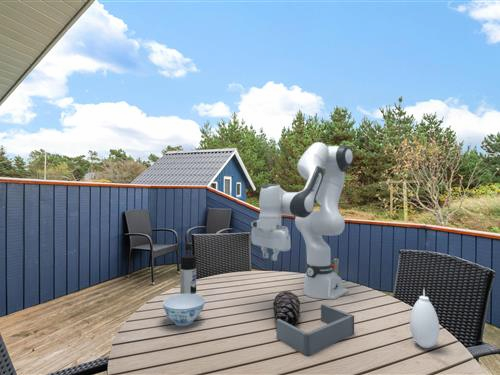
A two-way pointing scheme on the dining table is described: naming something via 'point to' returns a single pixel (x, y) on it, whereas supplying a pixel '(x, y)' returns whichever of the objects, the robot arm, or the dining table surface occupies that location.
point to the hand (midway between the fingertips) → (270, 259)
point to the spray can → (188, 274)
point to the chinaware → (183, 308)
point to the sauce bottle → (424, 322)
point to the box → (317, 331)
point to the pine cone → (287, 307)
